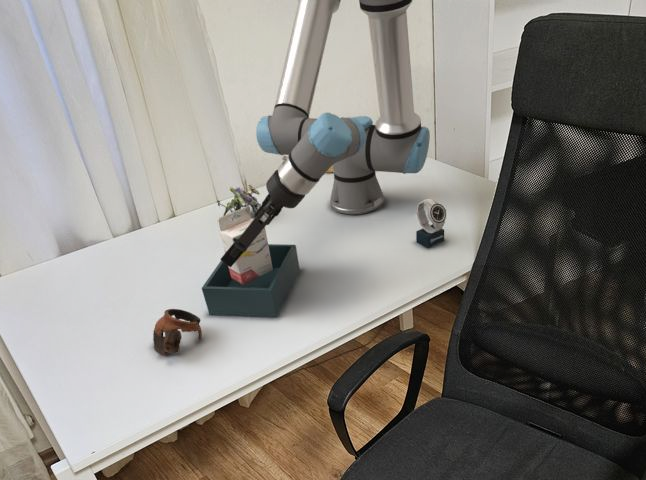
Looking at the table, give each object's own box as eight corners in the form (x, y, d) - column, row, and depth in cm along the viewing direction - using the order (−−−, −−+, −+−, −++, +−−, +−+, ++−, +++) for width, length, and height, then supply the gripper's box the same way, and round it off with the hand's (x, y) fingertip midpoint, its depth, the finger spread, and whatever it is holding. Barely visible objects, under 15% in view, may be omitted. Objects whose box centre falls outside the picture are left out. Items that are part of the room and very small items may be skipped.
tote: (239, 268, 144) (232, 243, 140) (300, 270, 142) (295, 244, 137) (209, 314, 130) (201, 288, 125) (276, 317, 127) (271, 290, 122)
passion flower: (261, 232, 171) (271, 207, 161) (225, 238, 165) (234, 212, 155) (246, 201, 174) (256, 174, 164) (211, 205, 168) (219, 178, 158)
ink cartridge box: (243, 286, 129) (228, 225, 120) (230, 278, 132) (215, 218, 123) (274, 270, 133) (262, 210, 124) (261, 263, 136) (248, 204, 127)
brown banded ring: (153, 338, 125) (161, 302, 122) (198, 349, 128) (207, 314, 125) (144, 360, 114) (153, 321, 112) (193, 371, 117) (203, 334, 114)
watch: (433, 251, 144) (432, 209, 137) (411, 240, 149) (410, 199, 143) (449, 243, 147) (450, 202, 140) (428, 232, 152) (428, 192, 145)
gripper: (291, 149, 124) (237, 217, 137) (259, 192, 107) (200, 265, 120) (319, 173, 127) (262, 238, 139) (291, 219, 110) (230, 288, 122)
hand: (234, 251), depth 130 cm, fingers closed on ink cartridge box, 9 cm apart
